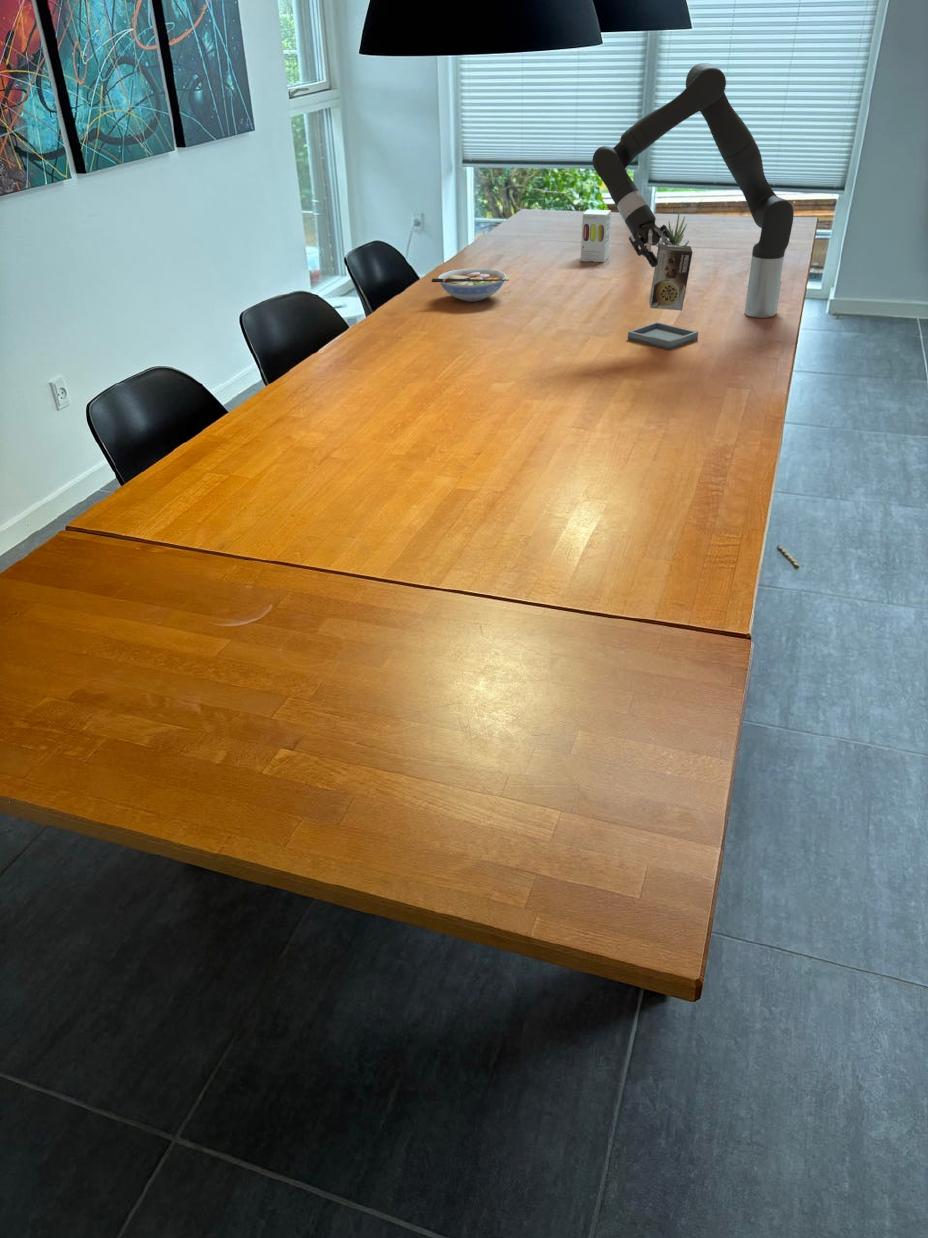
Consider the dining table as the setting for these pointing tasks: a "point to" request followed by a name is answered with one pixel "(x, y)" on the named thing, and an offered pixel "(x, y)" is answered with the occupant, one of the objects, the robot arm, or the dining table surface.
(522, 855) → the dining table surface
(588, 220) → the supplement box
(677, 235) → the potted plant
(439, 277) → the ramen bowl
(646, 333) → the tray
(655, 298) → the coffee box
